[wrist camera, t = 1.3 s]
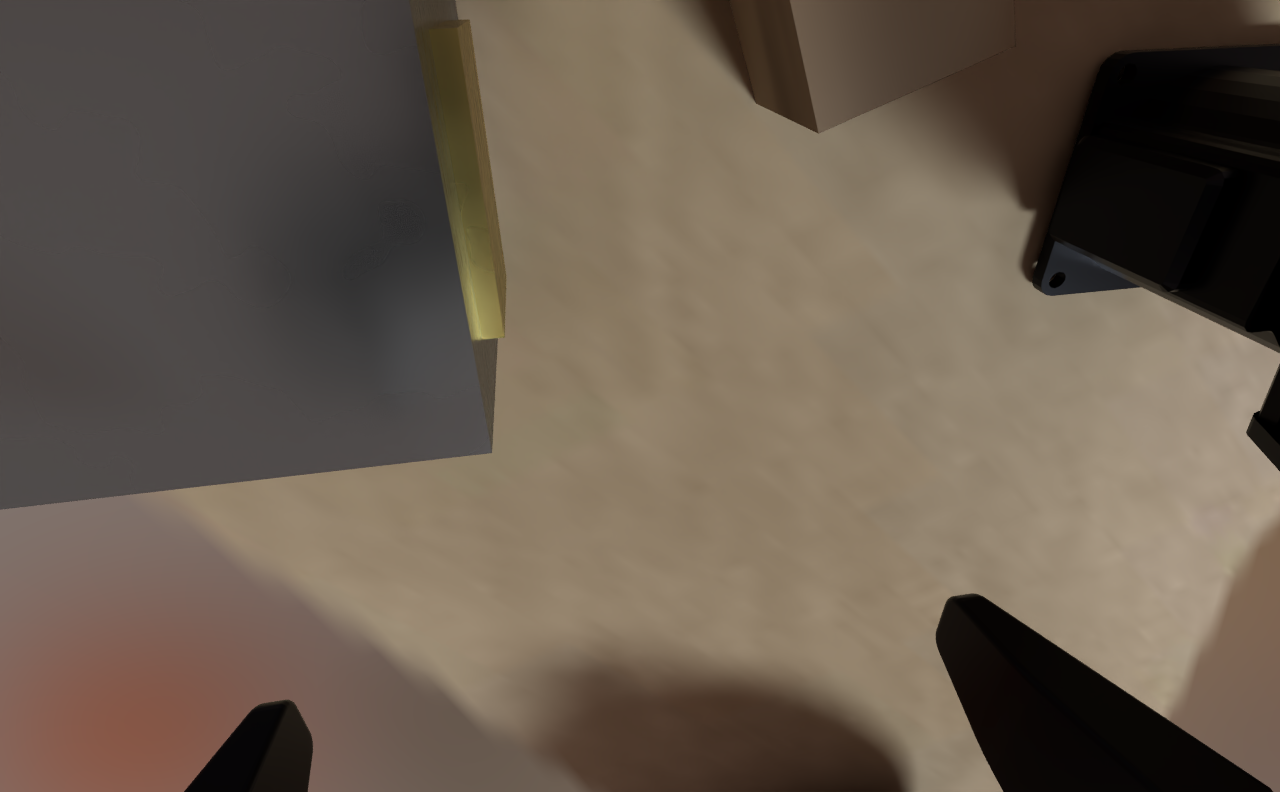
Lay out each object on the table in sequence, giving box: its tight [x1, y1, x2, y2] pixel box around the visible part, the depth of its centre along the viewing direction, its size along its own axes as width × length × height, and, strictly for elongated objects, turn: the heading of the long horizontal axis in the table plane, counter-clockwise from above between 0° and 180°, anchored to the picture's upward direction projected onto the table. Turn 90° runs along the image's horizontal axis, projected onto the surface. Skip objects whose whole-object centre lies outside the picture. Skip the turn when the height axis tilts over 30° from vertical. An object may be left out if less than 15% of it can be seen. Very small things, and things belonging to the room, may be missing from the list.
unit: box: [0, 0, 506, 509], centre depth 12 cm, size 10×8×7 cm
